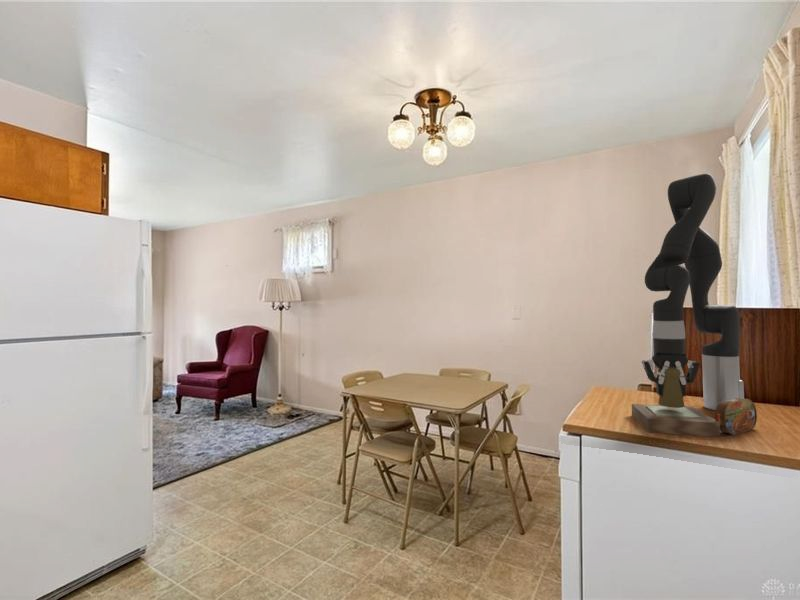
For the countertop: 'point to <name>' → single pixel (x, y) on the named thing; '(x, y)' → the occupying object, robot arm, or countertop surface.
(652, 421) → the stand
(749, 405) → the tin
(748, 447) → the countertop surface
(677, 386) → the olive pepper mill
